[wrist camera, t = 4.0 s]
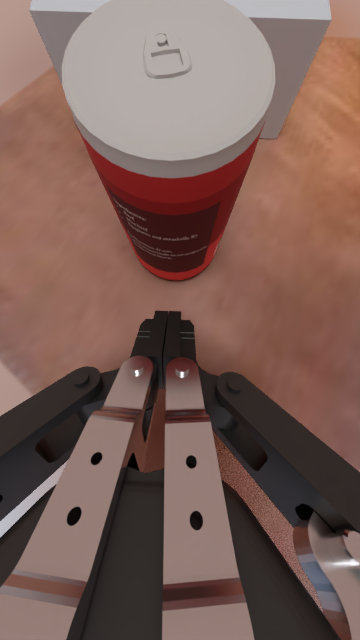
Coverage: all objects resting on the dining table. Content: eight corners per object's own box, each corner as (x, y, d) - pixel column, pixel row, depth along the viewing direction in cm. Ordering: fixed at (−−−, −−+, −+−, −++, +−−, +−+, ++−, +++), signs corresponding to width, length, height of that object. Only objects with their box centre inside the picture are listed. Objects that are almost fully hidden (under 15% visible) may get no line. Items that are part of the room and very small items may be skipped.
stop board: (273, 85, 20) (322, -51, 13) (276, 138, 19) (331, 19, 12) (90, 79, 20) (45, -60, 13) (83, 132, 19) (29, 10, 12)
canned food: (190, 192, 18) (207, -42, 7) (232, 260, 17) (325, 102, 6) (119, 226, 18) (22, 24, 7) (158, 297, 16) (117, 197, 6)
